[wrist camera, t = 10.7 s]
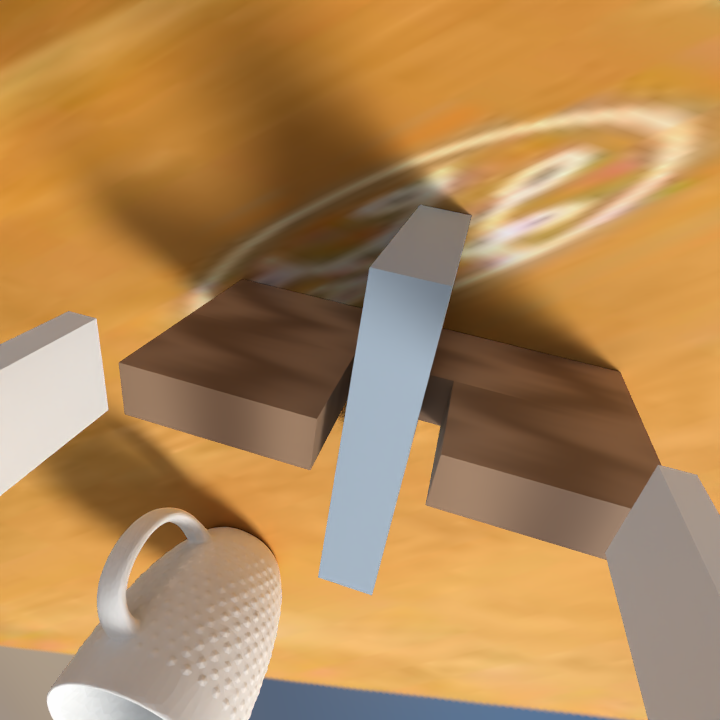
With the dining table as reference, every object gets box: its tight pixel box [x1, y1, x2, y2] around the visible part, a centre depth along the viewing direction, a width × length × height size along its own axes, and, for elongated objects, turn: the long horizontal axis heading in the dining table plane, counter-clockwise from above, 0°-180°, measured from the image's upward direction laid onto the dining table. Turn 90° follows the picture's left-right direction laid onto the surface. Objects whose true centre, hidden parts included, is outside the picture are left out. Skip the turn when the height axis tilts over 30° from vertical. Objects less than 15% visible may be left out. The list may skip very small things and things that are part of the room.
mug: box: [47, 507, 282, 720], centre depth 32 cm, size 15×11×13 cm
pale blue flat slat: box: [318, 205, 472, 595], centre depth 21 cm, size 14×2×10 cm, turn 171°
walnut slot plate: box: [119, 279, 662, 560], centre depth 21 cm, size 20×2×10 cm, turn 81°
